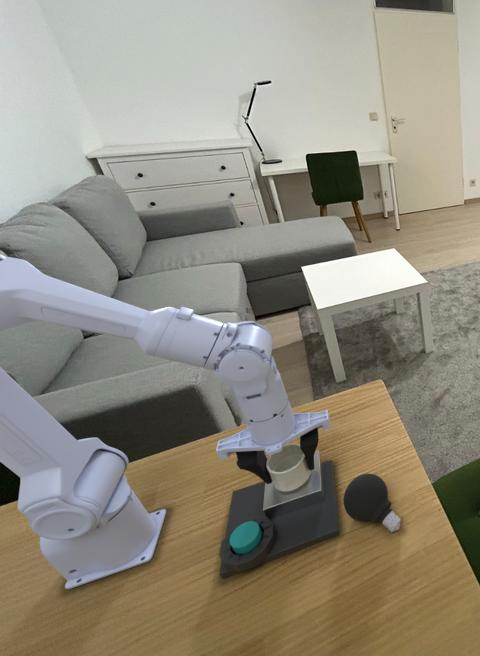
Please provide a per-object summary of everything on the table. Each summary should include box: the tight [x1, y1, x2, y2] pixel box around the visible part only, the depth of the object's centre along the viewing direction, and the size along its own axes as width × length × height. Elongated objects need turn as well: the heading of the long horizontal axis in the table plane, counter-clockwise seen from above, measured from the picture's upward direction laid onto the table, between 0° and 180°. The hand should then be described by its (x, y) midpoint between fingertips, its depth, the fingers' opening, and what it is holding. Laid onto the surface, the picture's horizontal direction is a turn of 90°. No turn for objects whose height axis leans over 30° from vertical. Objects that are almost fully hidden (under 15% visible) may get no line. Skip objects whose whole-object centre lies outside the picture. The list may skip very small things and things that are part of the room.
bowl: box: [266, 442, 311, 491], centre depth 60 cm, size 5×5×4 cm
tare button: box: [230, 521, 262, 554], centre depth 53 cm, size 4×4×2 cm
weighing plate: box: [263, 449, 325, 520], centre depth 62 cm, size 8×8×4 cm
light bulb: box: [343, 473, 402, 534], centre depth 58 cm, size 6×6×10 cm
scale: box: [219, 459, 340, 580], centre depth 59 cm, size 15×14×3 cm
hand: (290, 471), depth 60 cm, fingers closed on bowl, 5 cm apart
